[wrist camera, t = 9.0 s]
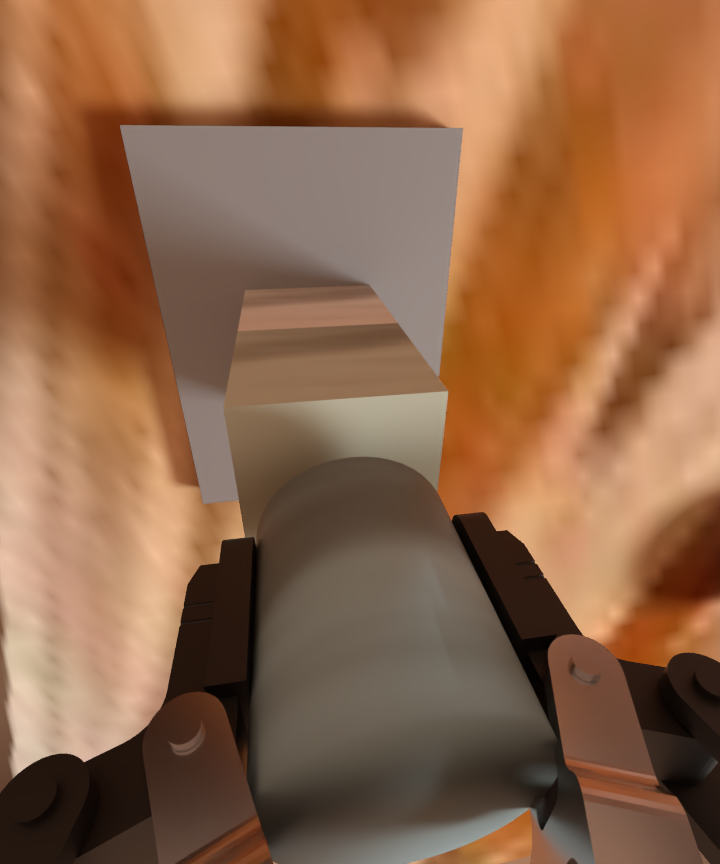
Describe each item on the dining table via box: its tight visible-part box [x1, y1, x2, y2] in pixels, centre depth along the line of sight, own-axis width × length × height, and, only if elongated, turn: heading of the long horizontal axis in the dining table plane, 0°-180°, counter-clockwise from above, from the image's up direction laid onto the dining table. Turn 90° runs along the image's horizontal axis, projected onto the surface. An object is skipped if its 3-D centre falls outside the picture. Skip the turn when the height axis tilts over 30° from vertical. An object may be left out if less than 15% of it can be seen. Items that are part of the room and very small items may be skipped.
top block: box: [223, 323, 448, 542], centre depth 16 cm, size 6×6×6 cm
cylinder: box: [246, 457, 558, 864], centre depth 10 cm, size 5×5×6 cm
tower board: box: [120, 125, 463, 504], centre depth 25 cm, size 19×14×2 cm
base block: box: [238, 285, 397, 331], centre depth 22 cm, size 6×6×6 cm
